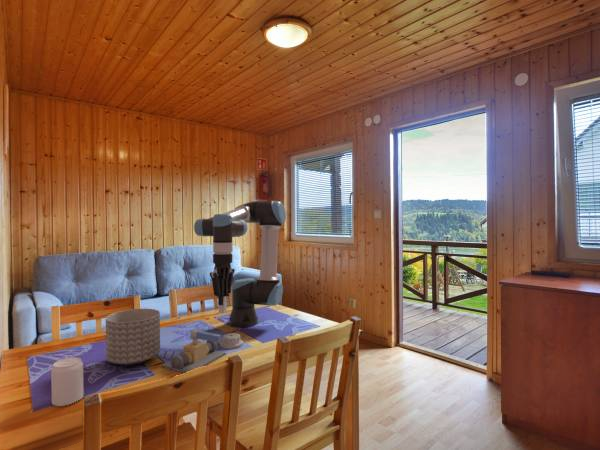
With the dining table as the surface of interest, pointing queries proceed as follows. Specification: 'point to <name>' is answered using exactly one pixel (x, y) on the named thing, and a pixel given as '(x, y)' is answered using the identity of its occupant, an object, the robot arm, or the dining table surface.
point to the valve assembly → (195, 356)
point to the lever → (205, 336)
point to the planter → (132, 336)
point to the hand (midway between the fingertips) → (222, 312)
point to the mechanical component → (231, 341)
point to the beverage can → (67, 381)
